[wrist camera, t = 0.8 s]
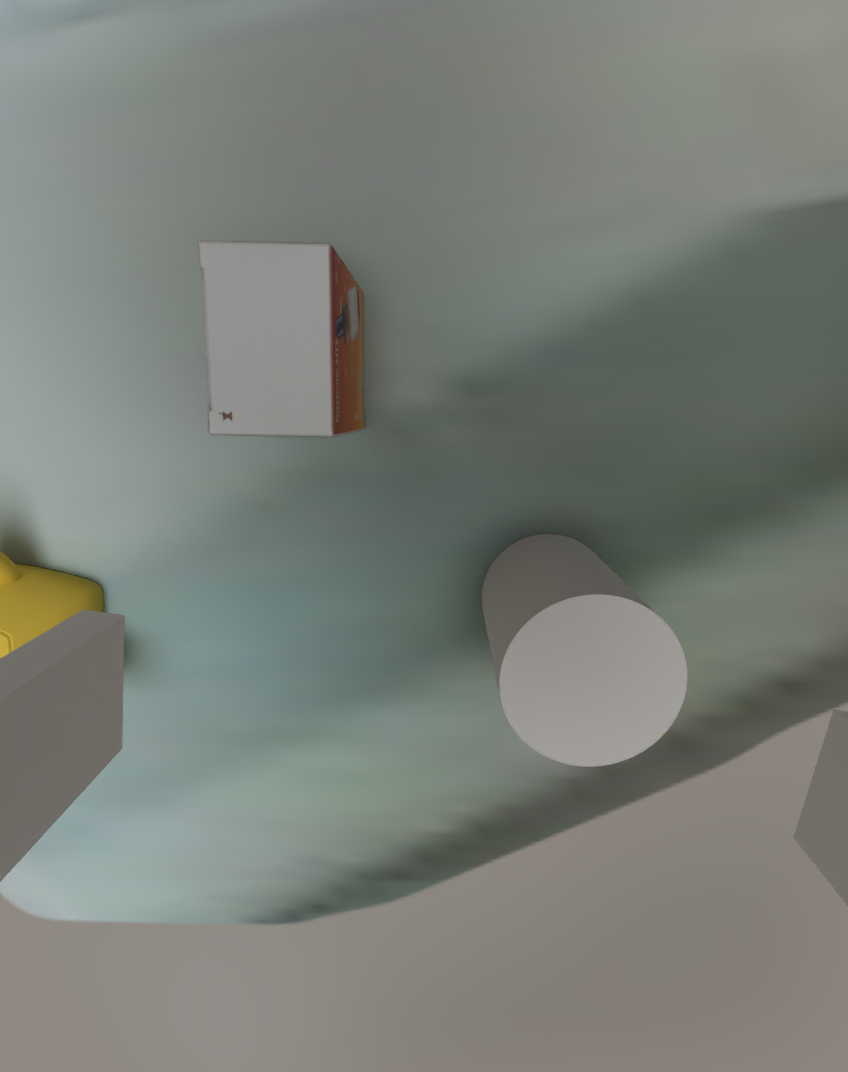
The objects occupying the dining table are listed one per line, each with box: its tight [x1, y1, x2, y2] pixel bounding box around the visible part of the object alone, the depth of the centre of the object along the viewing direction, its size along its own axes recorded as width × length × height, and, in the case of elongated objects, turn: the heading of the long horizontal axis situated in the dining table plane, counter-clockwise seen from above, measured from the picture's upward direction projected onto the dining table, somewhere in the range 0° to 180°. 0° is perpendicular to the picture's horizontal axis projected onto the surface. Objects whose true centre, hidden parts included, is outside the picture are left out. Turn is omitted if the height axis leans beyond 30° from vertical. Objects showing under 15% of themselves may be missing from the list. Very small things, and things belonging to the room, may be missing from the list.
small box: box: [198, 241, 365, 437], centre depth 30 cm, size 8×6×10 cm
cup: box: [481, 534, 687, 767], centre depth 32 cm, size 8×8×12 cm
